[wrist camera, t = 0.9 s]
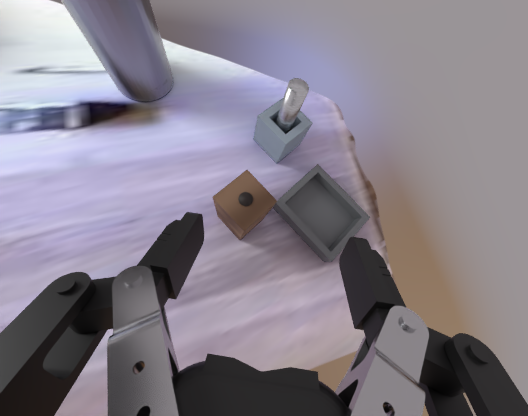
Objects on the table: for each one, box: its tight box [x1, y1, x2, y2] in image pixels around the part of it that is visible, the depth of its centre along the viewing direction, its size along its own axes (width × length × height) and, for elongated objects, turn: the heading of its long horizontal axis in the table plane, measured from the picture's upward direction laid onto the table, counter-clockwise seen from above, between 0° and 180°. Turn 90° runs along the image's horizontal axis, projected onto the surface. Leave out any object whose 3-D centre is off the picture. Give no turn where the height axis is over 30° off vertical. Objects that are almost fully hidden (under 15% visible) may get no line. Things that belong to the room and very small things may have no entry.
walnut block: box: [213, 170, 277, 240], centre depth 27 cm, size 5×5×10 cm
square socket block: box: [253, 98, 312, 163], centre depth 33 cm, size 6×6×6 cm
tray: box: [273, 164, 370, 262], centre depth 33 cm, size 12×10×2 cm
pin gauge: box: [275, 78, 309, 134], centre depth 31 cm, size 3×3×12 cm
